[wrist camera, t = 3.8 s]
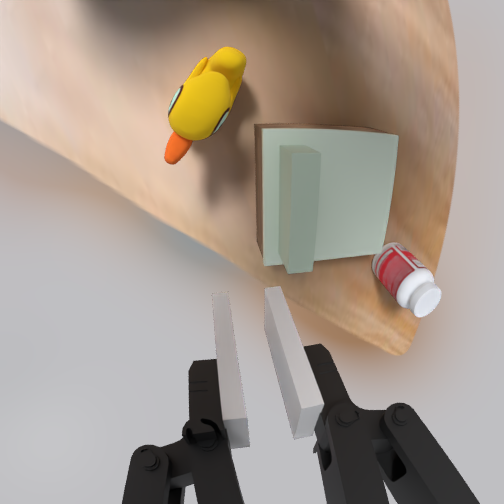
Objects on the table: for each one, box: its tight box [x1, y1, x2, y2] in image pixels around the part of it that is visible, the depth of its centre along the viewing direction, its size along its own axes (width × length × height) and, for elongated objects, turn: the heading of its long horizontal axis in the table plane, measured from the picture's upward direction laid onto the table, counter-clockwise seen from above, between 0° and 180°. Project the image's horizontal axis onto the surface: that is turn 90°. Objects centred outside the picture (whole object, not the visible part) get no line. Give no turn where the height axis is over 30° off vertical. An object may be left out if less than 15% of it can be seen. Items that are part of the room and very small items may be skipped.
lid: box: [262, 128, 399, 274], centre depth 26 cm, size 14×14×5 cm
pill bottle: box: [372, 242, 441, 317], centre depth 36 cm, size 6×6×11 cm
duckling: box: [164, 47, 246, 164], centre depth 22 cm, size 11×5×10 cm, turn 149°
